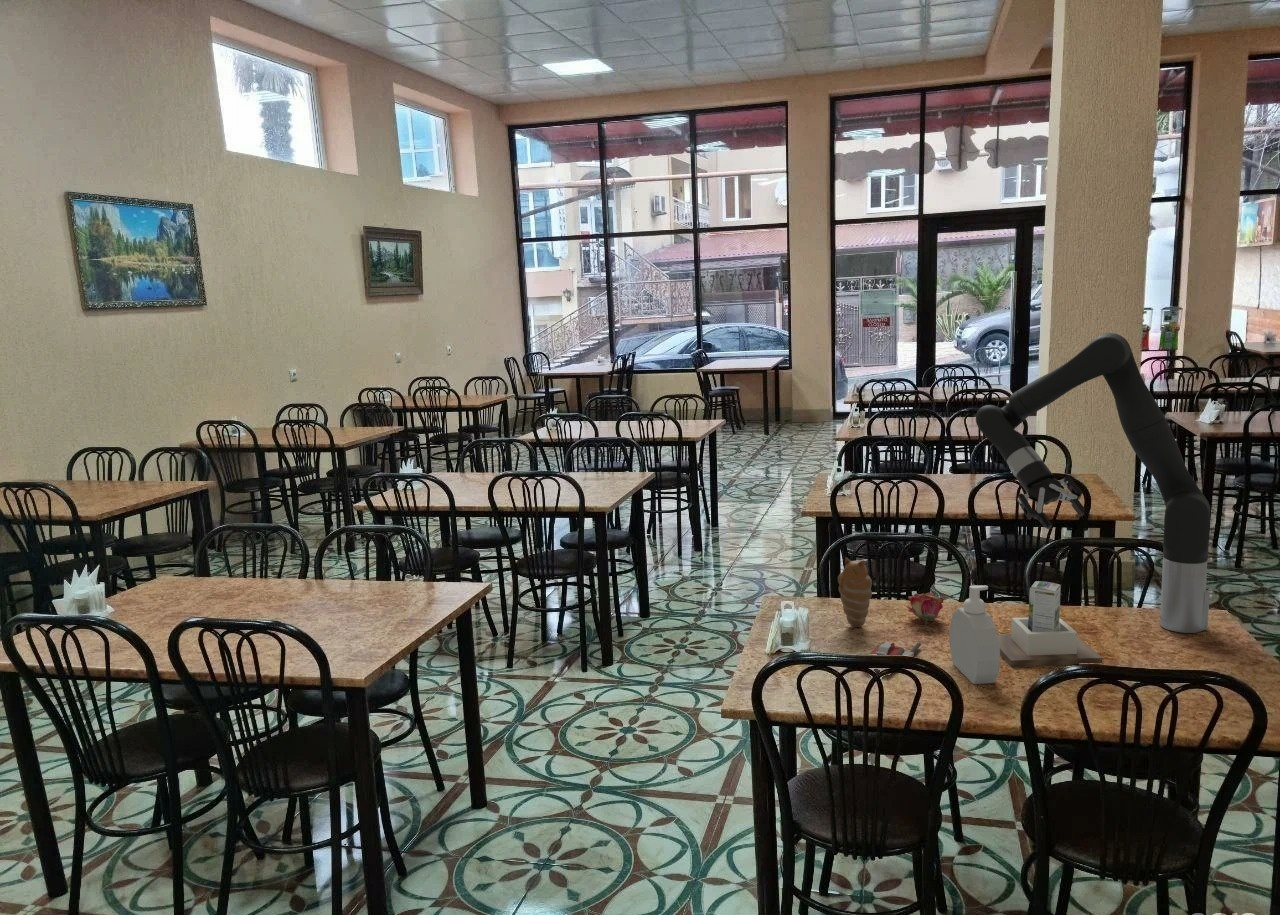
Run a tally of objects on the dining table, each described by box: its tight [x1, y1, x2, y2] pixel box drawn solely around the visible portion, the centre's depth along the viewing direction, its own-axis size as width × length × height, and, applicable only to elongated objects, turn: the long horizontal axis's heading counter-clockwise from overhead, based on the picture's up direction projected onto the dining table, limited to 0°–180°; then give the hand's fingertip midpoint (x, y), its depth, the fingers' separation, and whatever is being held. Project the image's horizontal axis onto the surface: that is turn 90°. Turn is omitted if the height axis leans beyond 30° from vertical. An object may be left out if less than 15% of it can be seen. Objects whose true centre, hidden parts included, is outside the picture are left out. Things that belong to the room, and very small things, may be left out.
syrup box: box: [1028, 580, 1062, 632], centre depth 215 cm, size 6×6×14 cm
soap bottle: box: [948, 584, 1001, 685], centre depth 205 cm, size 16×5×20 cm, turn 3°
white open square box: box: [1010, 616, 1078, 655], centre depth 216 cm, size 11×11×5 cm
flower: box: [906, 591, 946, 626], centre depth 239 cm, size 10×9×8 cm
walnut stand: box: [997, 633, 1103, 668], centre depth 216 cm, size 20×16×2 cm
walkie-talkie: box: [869, 641, 922, 676], centre depth 216 cm, size 9×4×20 cm
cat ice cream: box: [837, 557, 873, 628], centre depth 237 cm, size 9×8×18 cm
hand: (1066, 520), depth 226 cm, fingers open, 8 cm apart
